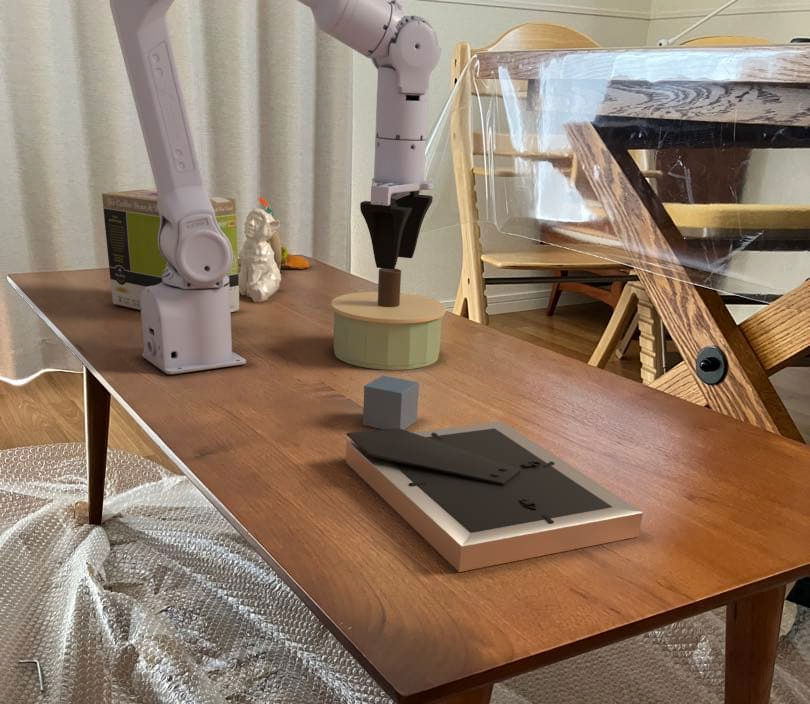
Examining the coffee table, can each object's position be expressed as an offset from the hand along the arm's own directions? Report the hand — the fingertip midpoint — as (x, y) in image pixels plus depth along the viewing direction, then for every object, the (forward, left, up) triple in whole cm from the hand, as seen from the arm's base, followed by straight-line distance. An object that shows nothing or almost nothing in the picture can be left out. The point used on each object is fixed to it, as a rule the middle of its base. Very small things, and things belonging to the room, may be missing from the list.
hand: (395, 262), depth 109 cm
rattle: (+10, +46, -10) cm, 48 cm away
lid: (-2, -2, -5) cm, 6 cm away
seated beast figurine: (-2, +33, -10) cm, 34 cm away
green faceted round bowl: (-2, -2, -10) cm, 11 cm away
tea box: (-16, +29, -10) cm, 35 cm away
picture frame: (-18, -40, -10) cm, 46 cm away
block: (-15, -22, -10) cm, 29 cm away
